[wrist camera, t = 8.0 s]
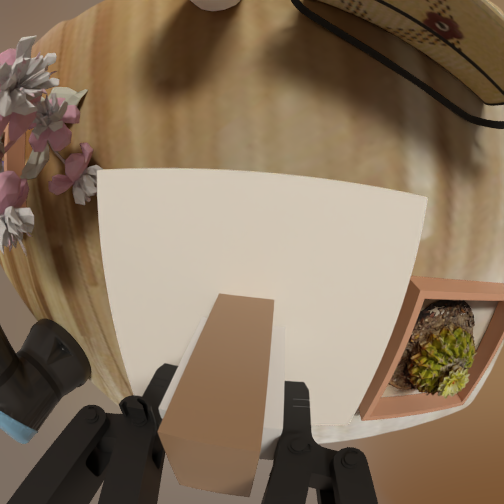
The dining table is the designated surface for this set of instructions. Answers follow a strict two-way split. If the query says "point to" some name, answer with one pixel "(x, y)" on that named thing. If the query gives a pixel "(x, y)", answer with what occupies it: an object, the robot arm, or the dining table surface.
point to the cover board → (251, 298)
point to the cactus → (438, 351)
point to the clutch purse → (438, 41)
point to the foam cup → (214, 4)
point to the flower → (37, 137)
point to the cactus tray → (416, 292)
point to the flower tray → (15, 155)
